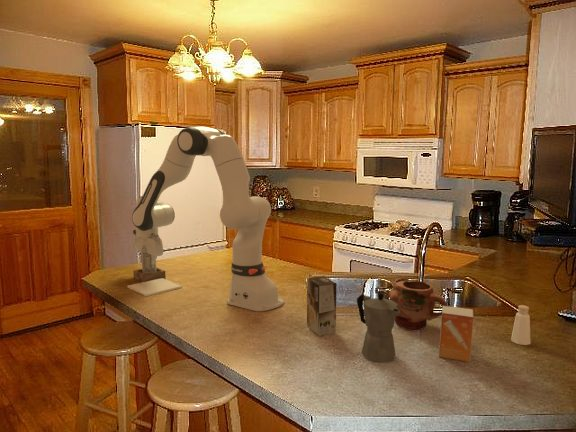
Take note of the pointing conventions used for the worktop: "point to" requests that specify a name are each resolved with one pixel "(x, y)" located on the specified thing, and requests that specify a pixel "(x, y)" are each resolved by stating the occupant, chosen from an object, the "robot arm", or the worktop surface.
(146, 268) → the energy drink can
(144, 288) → the tile
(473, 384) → the worktop surface
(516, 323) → the salt shaker
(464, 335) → the small box
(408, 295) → the decorative planter
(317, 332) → the coffee box
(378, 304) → the coffeepot
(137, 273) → the holder
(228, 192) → the robot arm
